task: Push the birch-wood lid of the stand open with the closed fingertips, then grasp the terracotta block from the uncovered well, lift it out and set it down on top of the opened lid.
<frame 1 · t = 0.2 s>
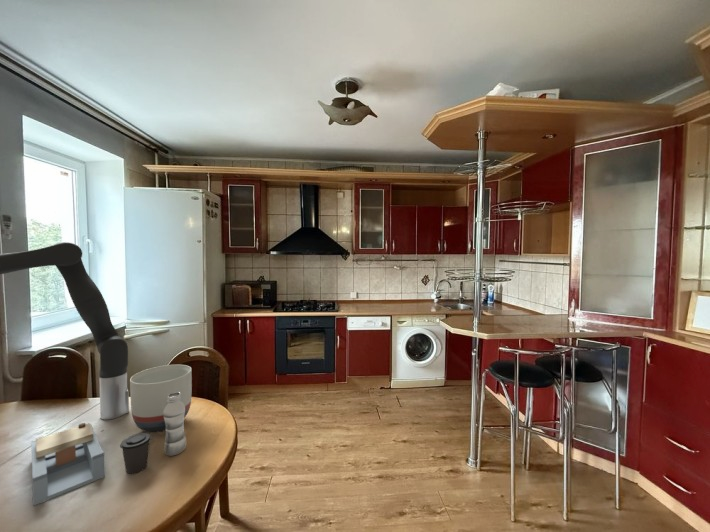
plastic bottle: (175, 453, 105), on the table
coffee cup: (136, 469, 97), on the table
planter: (163, 427, 121), on the table
stand: (66, 468, 97), on the table
block: (65, 459, 100), point 1 cm above the table, touching stand
lid: (65, 438, 100), point 8 cm above the table, slide at 0.0 cm
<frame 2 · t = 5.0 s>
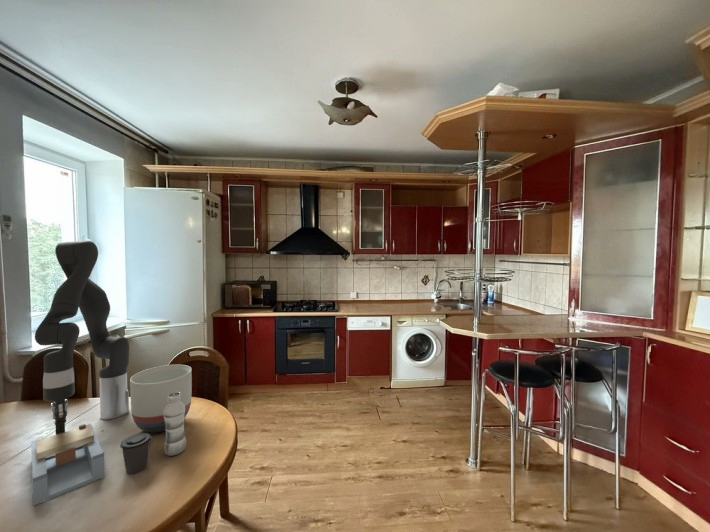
hand: (60, 434, 102), 8 cm above the table, fingers closed
lid: (65, 439, 99), point 8 cm above the table, slide at 1.2 cm, touching gripper
everything else where it was.
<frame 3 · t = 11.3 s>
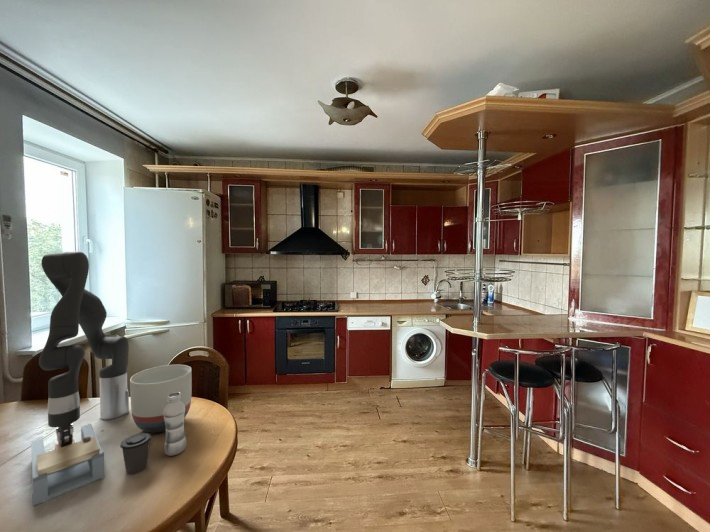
hand: (65, 459, 100), 1 cm above the table, fingers closed on block, 4 cm apart
block: (65, 459, 100), point 1 cm above the table, touching stand, gripper
lid: (68, 454, 91), point 8 cm above the table, slide at 12.0 cm
everything else where it was.
when the fingers open (10 cm above the table, at t = 15.7 s): block drops 1 cm, resting on lid.
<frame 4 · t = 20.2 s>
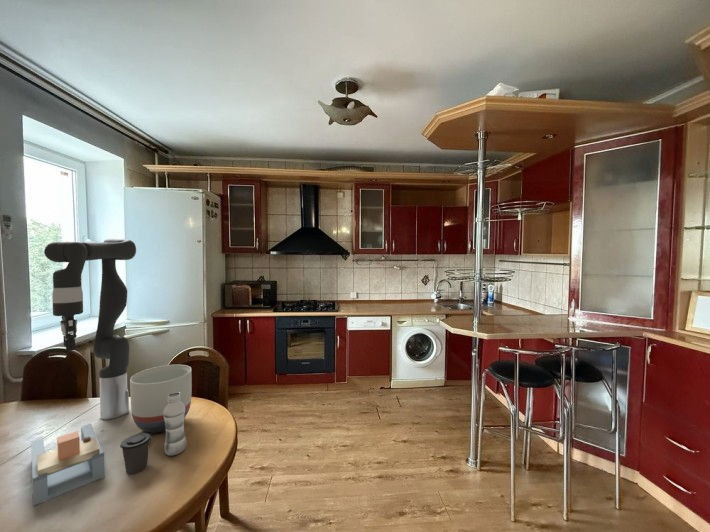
hand: (69, 348, 104), 36 cm above the table, fingers open, 8 cm apart
block: (68, 453, 91), point 9 cm above the table, touching lid
lid: (68, 454, 91), point 8 cm above the table, slide at 12.0 cm, touching block
everything else where it was.
at the end: lid slide at 12.0 cm; block inside the target area (1.0 cm from its centre), point 8.7 cm above the table; the gripper is holding nothing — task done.
